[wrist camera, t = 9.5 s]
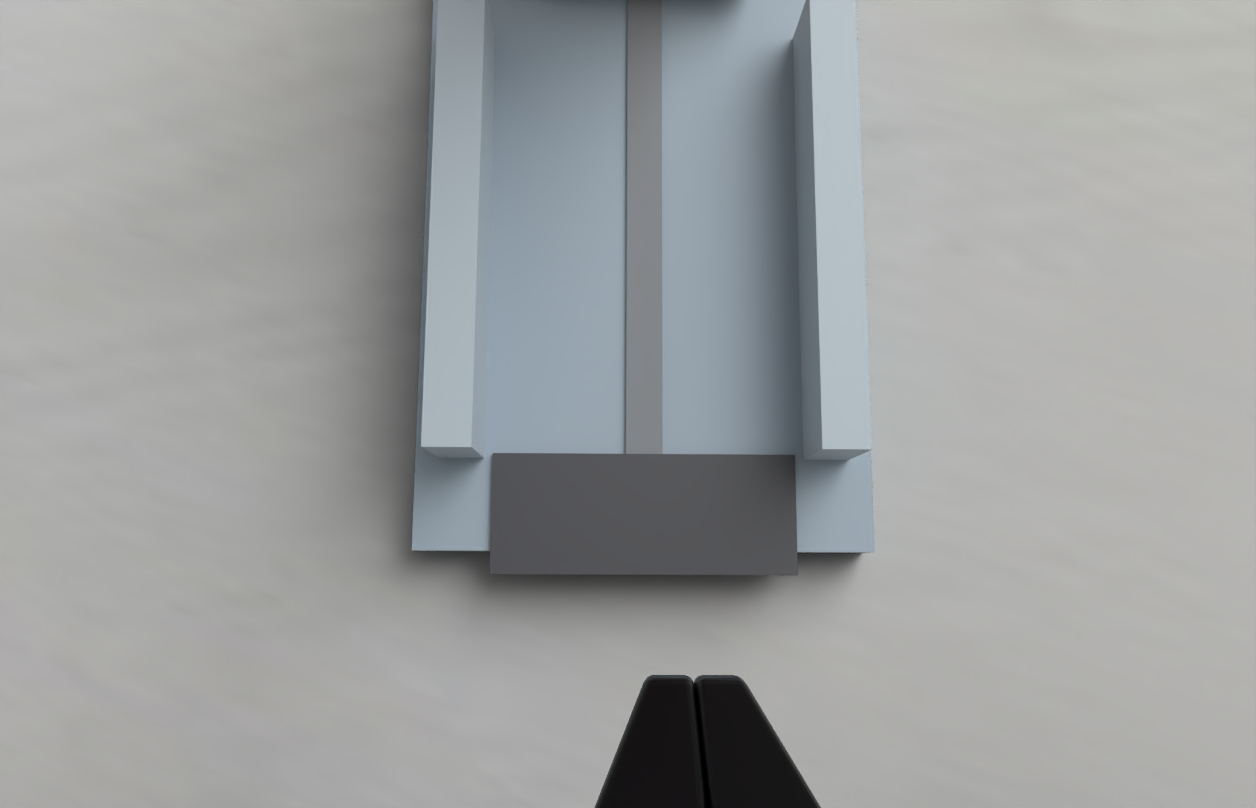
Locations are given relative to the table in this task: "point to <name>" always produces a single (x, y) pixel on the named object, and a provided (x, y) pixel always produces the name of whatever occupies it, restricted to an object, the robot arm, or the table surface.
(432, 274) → the trough board
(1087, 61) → the table surface
